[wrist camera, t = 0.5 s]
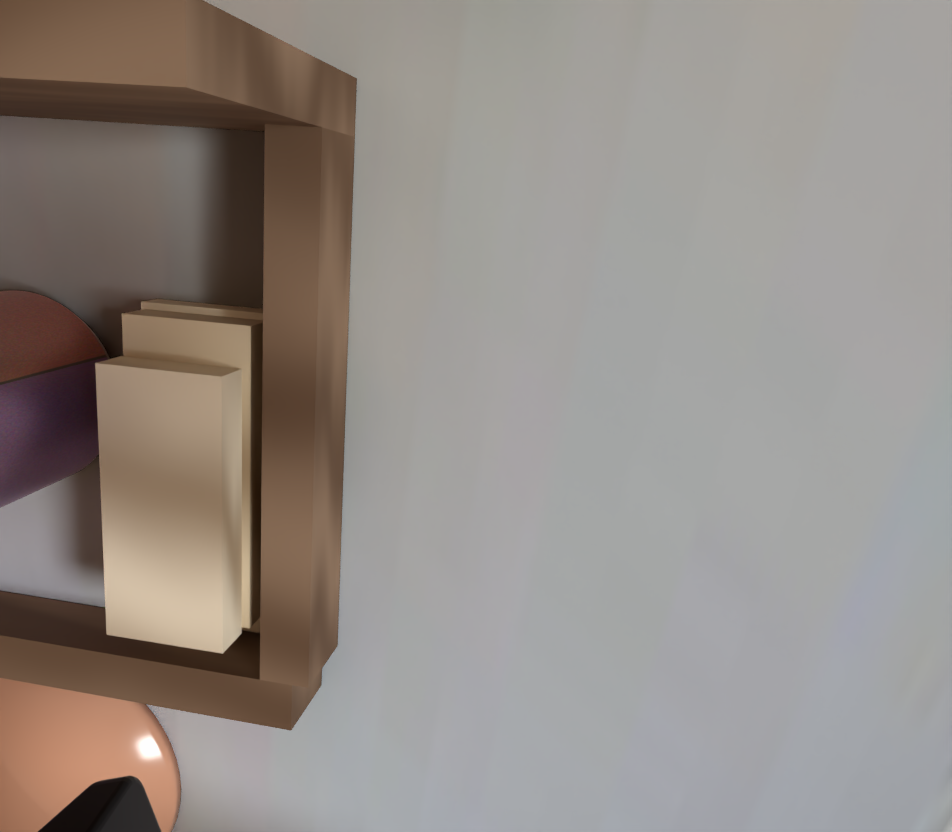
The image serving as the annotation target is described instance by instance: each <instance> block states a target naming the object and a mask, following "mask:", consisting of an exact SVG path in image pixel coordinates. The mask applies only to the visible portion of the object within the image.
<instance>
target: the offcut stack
mask: <svg viewBox="0 0 952 832" xmlns="http://www.w3.org/2000/svg"><path fill="white" fill-rule="evenodd" d="M122 337H123V356H120V357H116V358H112V359H109V360H105V361H101V362H97V363H95V369H96V393H97V417H98V441H99V465H100V489H101V513H102V537H103V561H104V585H105V609H106V633H107V635H112V636H118V637H124V638H130V639H136V640H143V641H149V642H155V643H161V644H167V645H173V646H179V647H185V648H192V649H198V650H204V651H210V652H216V653H222V654H223V653H224V652H225V651H226V650H227V649H228V647H229V646H230V645H231V644H232V643H233V642H234V641H235V640H236V639H237V638H238V637H239V636H240V635H241V634H242V630H246V631H252V632H259V633H260V597H261V485H262V372H263V309H260V308H249V307H239V306H228V305H217V304H207V303H196V302H186V301H175V300H164V299H154V300H148V301H142V302H141V310H138V311H132V312H127V313H122Z"/></svg>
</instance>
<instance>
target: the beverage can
mask: <svg viewBox="0 0 952 832" xmlns="http://www.w3.org/2000/svg"><path fill="white" fill-rule="evenodd" d="M109 359H110V358H109V356H108V354H107V352H106V350H105V348H104V346H103V345H102V343H101V342H100V340H99V339H98V337H97V336H96V335H95V333H94V332H93V331H92V330H91V329H90V327H89V326H88V325H87V324H86V323H85V322H83V321H82V320H81V319H80V318H79V317H78V316H76V315H75V314H74V313H73V312H71V311H70V310H68V309H67V308H66V307H64V306H62V305H61V304H59V303H57V302H56V301H54V300H52V299H50V298H47V297H45V296H42V295H39V294H36V293H32V292H27V291H16V290H10V291H0V507H3V506H5V505H7V504H9V503H11V502H14V501H16V500H18V499H20V498H22V497H25V496H27V495H29V494H31V493H33V492H35V491H38V490H40V489H42V488H44V487H46V486H49V485H51V484H53V483H55V482H57V481H60V480H62V479H64V478H66V477H68V476H70V475H73V474H75V473H77V472H78V471H80V470H82V469H83V468H85V467H86V466H87V465H89V464H90V463H91V462H92V461H93V460H94V459H95V458H96V457H97V456H98V454H99V441H98V417H97V393H96V369H95V363H97V362H101V361H105V360H109Z"/></svg>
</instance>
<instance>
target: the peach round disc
mask: <svg viewBox="0 0 952 832" xmlns="http://www.w3.org/2000/svg"><path fill="white" fill-rule="evenodd" d="M123 776H134V777H136V778H138V779H139V780H140V781H141V783H142V785H143V786H144V789H145V791H146V794H147V796H148V799H149V801H150V804H151V806H152V809H153V811H154V814H155V816H156V819H157V821H158V824H159V827H160V829H161V832H172V830H173V828H174V825H175V822H176V820H177V817H178V813H179V808H180V801H181V782H180V773H179V768H178V764H177V759H176V757H175V754H174V751H173V748H172V745H171V743H170V741H169V739H168V737H167V735H166V733H165V731H164V729H163V728H162V726H161V724H160V723H159V721H158V720H157V718H156V717H155V715H154V714H153V713H152V712H151V710H150V709H149V708H148V707H147V705H146V704H143V703H137V702H131V701H126V700H120V699H115V698H109V697H104V696H98V695H93V694H87V693H82V692H76V691H71V690H65V689H60V688H54V687H48V686H43V685H37V684H32V683H26V682H21V681H15V680H10V679H4V678H0V832H38V831H39V830H40V829H41V828H42V827H43V826H45V825H46V824H47V823H48V822H49V821H50V820H51V819H52V818H54V817H55V816H56V815H57V814H58V813H59V812H60V811H62V810H63V809H64V808H65V807H66V806H67V805H68V804H69V803H71V802H72V801H73V800H74V799H75V798H76V797H77V796H79V795H80V794H81V793H82V792H83V791H84V790H85V789H86V788H88V787H89V786H90V785H91V784H93V783H95V782H98V781H101V780H106V779H112V778H118V777H123Z"/></svg>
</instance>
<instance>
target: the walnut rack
mask: <svg viewBox="0 0 952 832" xmlns="http://www.w3.org/2000/svg"><path fill="white" fill-rule="evenodd" d="M356 84H357V79H356V78H355V77H353V76H351V75H349V74H347V73H345V72H343V71H341V70H339V69H337V68H335V67H333V66H331V65H329V64H327V63H325V62H323V61H321V60H319V59H317V58H315V57H313V56H311V55H309V54H307V53H305V52H303V51H301V50H299V49H297V48H295V47H293V46H292V45H290V44H288V43H286V42H284V41H282V40H280V39H278V38H276V37H274V36H272V35H270V34H268V33H266V32H264V31H262V30H260V29H258V28H256V27H254V26H252V25H250V24H248V23H246V22H244V21H242V20H240V19H238V18H236V17H234V16H232V15H231V14H229V13H227V12H225V11H223V10H221V9H219V8H217V7H215V6H213V5H211V4H209V3H207V2H205V1H203V0H0V115H5V116H21V117H38V118H54V119H70V120H87V121H103V122H119V123H136V124H152V125H168V126H185V127H201V128H218V129H234V130H250V131H265V148H264V260H263V372H262V485H261V597H260V633H255V632H249V631H243V630H242V634H241V635H240V636H239V637H238V638H237V639H236V640H235V641H234V642H233V643H232V644H231V645H230V646H229V647H228V649H227V650H226V651H225V652H224V653H223V654H222V653H216V652H210V651H204V650H198V649H192V648H185V647H179V646H173V645H167V644H161V643H155V642H149V641H143V640H136V639H130V638H124V637H118V636H112V635H107V633H106V609H105V608H101V607H95V606H89V605H83V604H76V603H70V602H64V601H58V600H52V599H46V598H39V597H33V596H27V595H21V594H15V593H9V592H2V591H0V678H4V679H10V680H15V681H21V682H26V683H32V684H37V685H43V686H48V687H54V688H60V689H65V690H71V691H76V692H82V693H87V694H93V695H98V696H104V697H109V698H115V699H120V700H126V701H131V702H137V703H143V704H148V705H154V706H159V707H165V708H170V709H176V710H181V711H187V712H192V713H198V714H203V715H209V716H214V717H220V718H225V719H231V720H237V721H242V722H248V723H253V724H259V725H264V726H270V727H275V728H281V729H286V730H292V728H293V727H294V725H295V724H296V722H297V721H298V719H299V718H300V716H301V715H302V713H303V712H304V710H305V709H306V707H307V706H308V704H309V703H310V701H311V700H312V698H313V697H314V695H315V694H316V692H317V691H318V689H319V688H320V686H321V679H322V667H323V666H324V665H325V663H326V662H327V660H328V659H329V657H330V656H331V654H332V653H333V652H334V650H335V649H336V647H337V644H338V614H339V585H340V555H341V526H342V496H343V467H344V438H345V408H346V379H347V349H348V320H349V290H350V261H351V231H352V202H353V172H354V143H355V113H356Z"/></svg>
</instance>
